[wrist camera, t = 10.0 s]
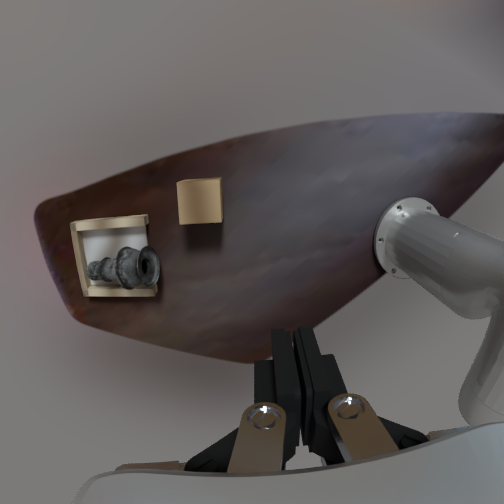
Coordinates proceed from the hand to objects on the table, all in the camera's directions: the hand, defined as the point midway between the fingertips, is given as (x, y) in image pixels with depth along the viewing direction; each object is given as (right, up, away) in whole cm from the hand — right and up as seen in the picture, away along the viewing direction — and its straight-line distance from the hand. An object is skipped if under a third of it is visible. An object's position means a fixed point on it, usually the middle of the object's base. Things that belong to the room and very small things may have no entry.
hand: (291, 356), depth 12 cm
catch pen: (-22, +4, +29) cm, 36 cm away
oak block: (-8, +12, +27) cm, 31 cm away
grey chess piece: (-15, +3, +26) cm, 29 cm away
